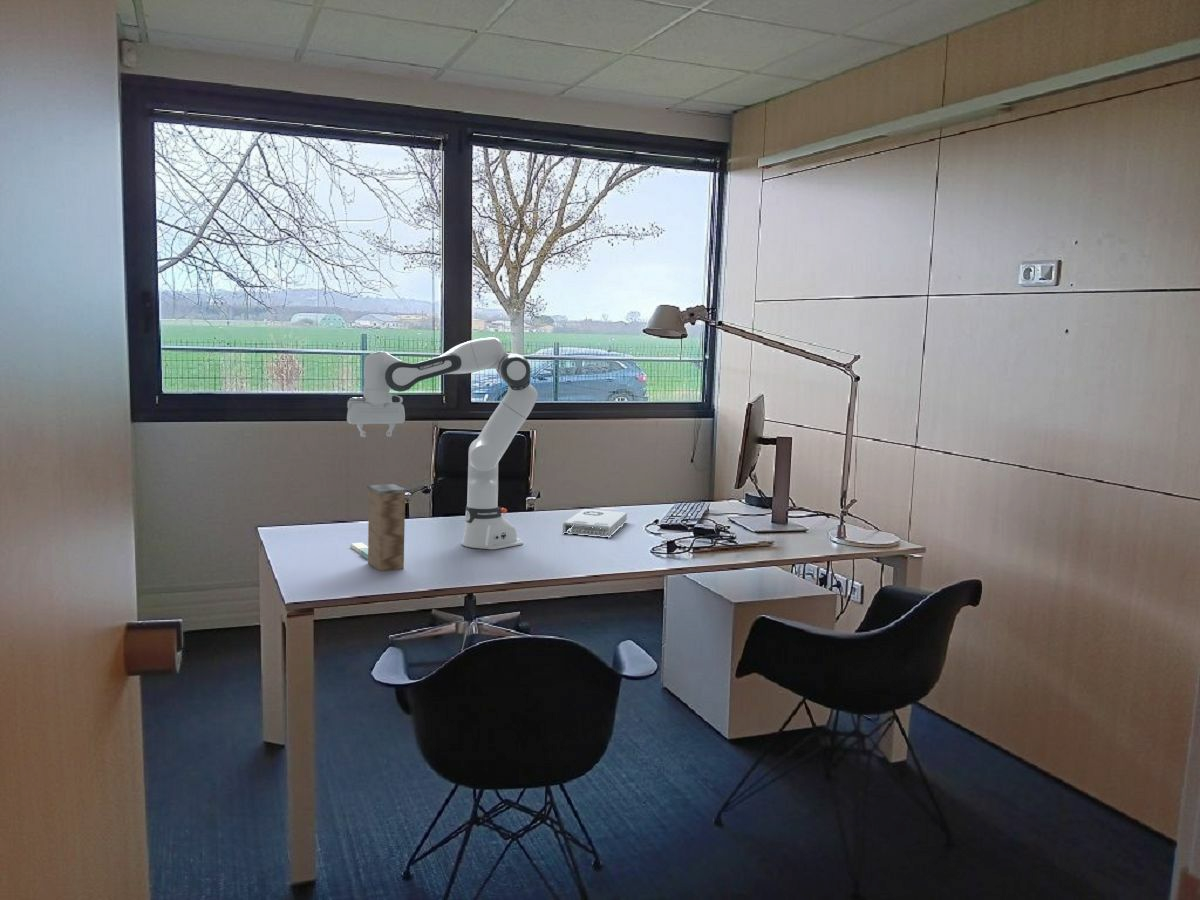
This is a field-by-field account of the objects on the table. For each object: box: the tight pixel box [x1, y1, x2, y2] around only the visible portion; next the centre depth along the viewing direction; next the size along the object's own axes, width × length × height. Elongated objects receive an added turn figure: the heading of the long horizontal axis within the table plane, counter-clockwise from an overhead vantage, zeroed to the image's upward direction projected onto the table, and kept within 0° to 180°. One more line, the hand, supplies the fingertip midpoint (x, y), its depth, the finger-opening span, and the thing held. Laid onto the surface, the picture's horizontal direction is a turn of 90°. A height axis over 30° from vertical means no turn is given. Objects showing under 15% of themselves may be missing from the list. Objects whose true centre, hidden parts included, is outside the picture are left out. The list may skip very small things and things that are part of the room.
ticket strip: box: [350, 542, 368, 561], centre depth 304 cm, size 5×20×2 cm, turn 34°
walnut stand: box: [367, 483, 408, 572], centre depth 287 cm, size 9×11×26 cm
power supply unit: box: [562, 508, 628, 536], centre depth 361 cm, size 19×33×5 cm, turn 166°
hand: (376, 436), depth 312 cm, fingers open, 8 cm apart
